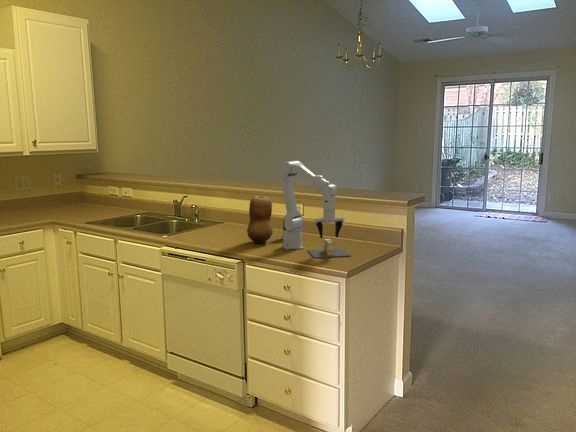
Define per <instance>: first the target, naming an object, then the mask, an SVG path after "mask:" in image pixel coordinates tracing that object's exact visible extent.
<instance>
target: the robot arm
mask: <svg viewBox="0 0 576 432" xmlns="http://www.w3.org/2000/svg"><path fill="white" fill-rule="evenodd" d="M279 170H280V177H279V179H280V185H281V190H282V194H283V200H284V204H285V208H286V213H285V215H284V216H283V220H284V219H285V222H284V221H283V222H284V226H285V228H286V230H287V231H282V236H283V239H282V247H283V248H284V250H298V249H299V250H300V249H301V250H302V249H304V247H303V245H302V239H303V238H302V235H303V234H302V231H303V227H305V219H304V218H303V215H302V212H300V211H299V210H298V206H297V205H298V204H297V201H296V196H295V195H296V194H295V191H294V190H295V189H294V186H293V179H294V177H295V176H297V174H299V175H301V176H303V177H304V178H306V179H307V180H308V181H310V184H311V185H312V186H313V187H314V188H315V189H317V190H318V191H320V193H321V195H322V200H323V205H322V206H323V207H322V213H323V214H322V215H323V216H322V217H319V218H314V219H313V224H315V225H316V227H317V229H318V232H319V237H320V238H321V239H322V238H324V237H323V228H324V224H327V223H334V224H335V225H334V226H335V232H334V233H335V234H334V235H335V237H336V238H339V235H340V231H341V228H342V227H343V226H344V225H343V224H344V223H345V218H344V217H336V198H337V197H336V196H337V194H338V191H339V188H338V186H337V185H336V184H335V183H330V181H328V180H326V179H325V178H323V175H315V174H314V173H313V172H312V171H311V170H309V169H308V168H307V167H306V166H304V164H303V163H302V162H301V161H299V160H297V159H296V160H290V161H288V160H287V161H283V162H282V163H281V165H280V166H279Z"/></svg>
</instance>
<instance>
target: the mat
mask: <svg viewBox="0 0 576 432" xmlns="http://www.w3.org/2000/svg"><path fill="white" fill-rule="evenodd" d="M307 252H308V253H309V255H310V256H311V257H312V258H313V259H326V258H328V259H329V258H331V259H332V257H333V258H346V257H347V258H351V257H352V255H351V253H349V252H348V251H347V250H346V249H344V248H342V247H341V248H335V255H328V254H327V253H326V252H325V251H324V248H321V249H318V248H317V249H308V250H307Z"/></svg>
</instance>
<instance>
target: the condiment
mask: <svg viewBox="0 0 576 432" xmlns="http://www.w3.org/2000/svg"><path fill="white" fill-rule="evenodd" d="M284 222H285V219H284V218H283V223H282V224H283V226H282V227H283V228H282V230H283V231H287V230H286V228H285V226H284ZM283 231H282V232H283ZM278 240H283V235H280V237H279V238H278Z"/></svg>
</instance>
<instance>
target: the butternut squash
mask: <svg viewBox="0 0 576 432" xmlns="http://www.w3.org/2000/svg"><path fill="white" fill-rule="evenodd" d="M249 201H250V202H249V207H248V209H249V210H248V213H249V214H248V215H249V223H248V226H247V230H246V232H247V237H248V238H249V239H250V240H251V241H252V242H253V243H255V244H263V243H266V242H267V241H268V240H270V239H271V237H272V235H273V231H274V230H273V226H272V223H271V217H272V213H273V202H272V198H270V197H268V196H264V195H263V196H262V195H256V196H253V197H251V199H250V200H249Z"/></svg>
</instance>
